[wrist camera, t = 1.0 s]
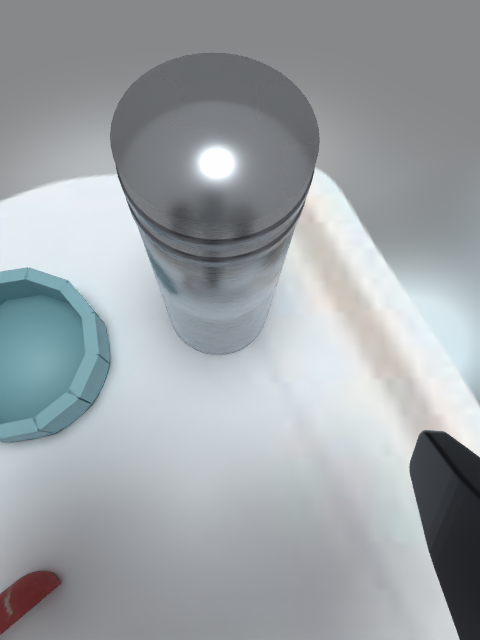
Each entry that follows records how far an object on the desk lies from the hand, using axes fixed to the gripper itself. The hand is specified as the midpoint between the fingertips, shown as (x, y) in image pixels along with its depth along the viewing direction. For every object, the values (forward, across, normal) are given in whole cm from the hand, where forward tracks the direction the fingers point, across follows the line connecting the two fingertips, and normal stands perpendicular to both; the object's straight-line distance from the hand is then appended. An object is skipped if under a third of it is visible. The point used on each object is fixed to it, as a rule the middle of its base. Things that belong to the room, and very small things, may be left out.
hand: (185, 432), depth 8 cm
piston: (+14, 0, +4) cm, 15 cm away
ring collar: (+12, +9, +7) cm, 17 cm away
